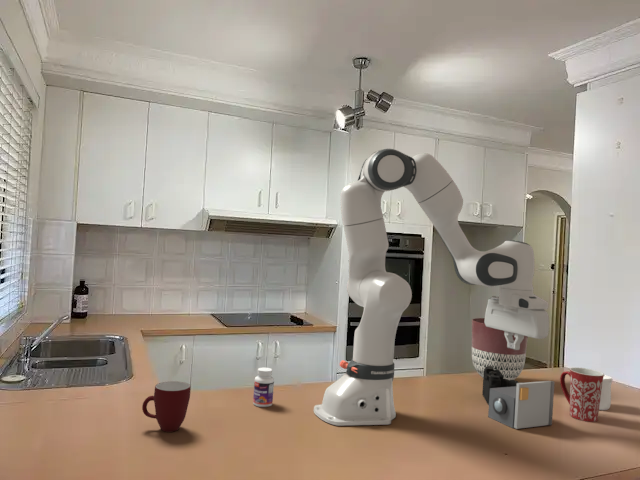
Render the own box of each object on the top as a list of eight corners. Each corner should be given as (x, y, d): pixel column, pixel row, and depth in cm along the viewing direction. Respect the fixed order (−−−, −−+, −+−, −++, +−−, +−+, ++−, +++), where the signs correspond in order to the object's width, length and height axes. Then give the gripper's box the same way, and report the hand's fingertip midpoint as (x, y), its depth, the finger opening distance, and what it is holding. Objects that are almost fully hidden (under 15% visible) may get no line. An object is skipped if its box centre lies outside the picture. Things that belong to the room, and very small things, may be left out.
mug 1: (138, 436, 114) (142, 391, 114) (142, 423, 121) (145, 381, 121) (187, 434, 116) (190, 390, 116) (187, 422, 124) (190, 381, 124)
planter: (471, 385, 176) (475, 323, 176) (465, 372, 195) (468, 316, 195) (531, 392, 173) (535, 328, 173) (518, 378, 192) (522, 321, 192)
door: (518, 429, 133) (521, 384, 133) (513, 427, 135) (516, 383, 135) (553, 425, 138) (556, 382, 139) (548, 423, 140) (551, 380, 140)
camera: (522, 410, 152) (524, 376, 152) (485, 405, 154) (487, 372, 154) (514, 397, 166) (516, 366, 166) (480, 393, 168) (481, 362, 168)
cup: (603, 412, 154) (605, 380, 154) (569, 403, 162) (571, 373, 162) (615, 407, 161) (617, 376, 161) (582, 399, 168) (584, 369, 168)
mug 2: (608, 421, 146) (611, 374, 146) (586, 424, 142) (589, 375, 142) (571, 407, 157) (573, 363, 158) (549, 409, 154) (552, 364, 154)
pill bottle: (249, 405, 140) (251, 369, 140) (258, 400, 145) (261, 365, 145) (266, 408, 138) (269, 372, 138) (275, 403, 143) (278, 368, 143)
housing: (509, 428, 134) (511, 395, 135) (485, 417, 143) (487, 386, 143) (545, 424, 140) (547, 392, 140) (519, 413, 148) (521, 383, 148)
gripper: (480, 294, 150) (478, 341, 150) (536, 303, 131) (534, 357, 131) (496, 294, 153) (494, 341, 153) (554, 303, 134) (551, 356, 134)
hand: (513, 348), depth 142 cm, fingers closed
